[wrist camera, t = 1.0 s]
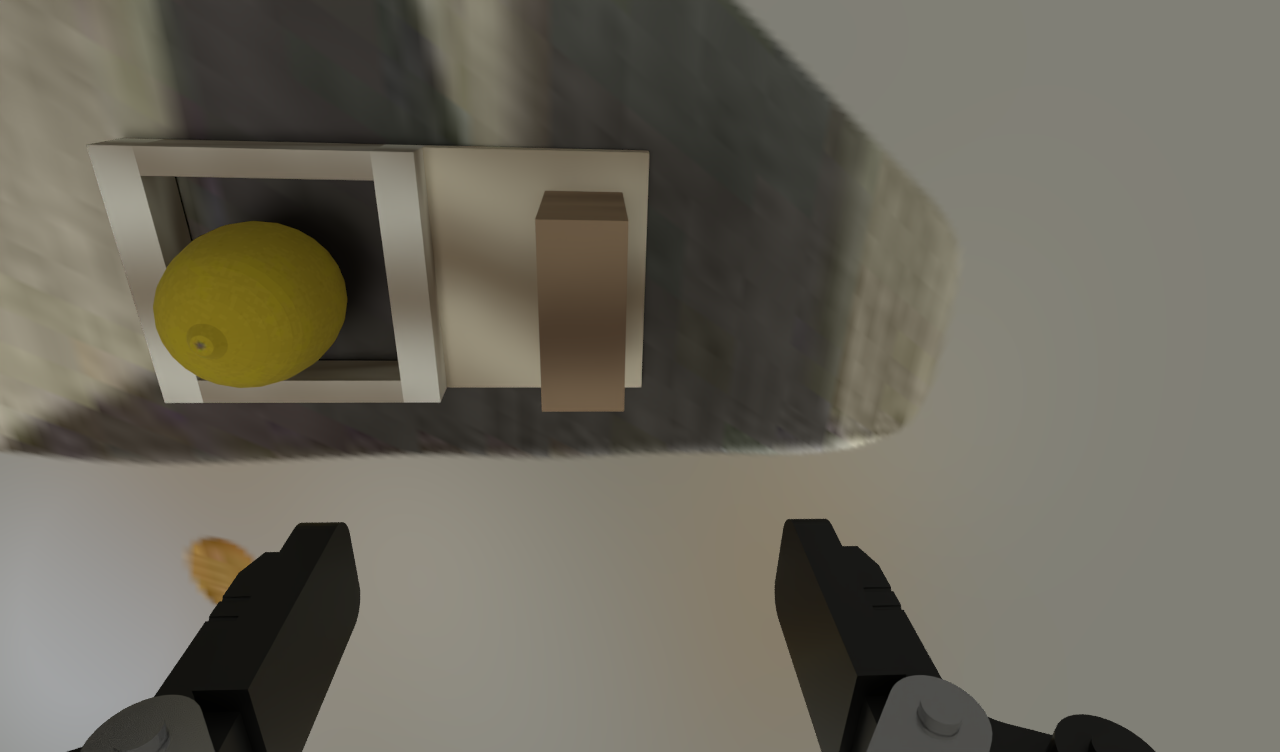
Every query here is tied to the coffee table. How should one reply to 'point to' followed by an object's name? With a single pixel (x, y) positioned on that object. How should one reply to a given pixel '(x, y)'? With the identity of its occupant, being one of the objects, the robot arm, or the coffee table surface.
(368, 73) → the coffee table surface
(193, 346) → the lemon
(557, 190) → the white open frame tray
